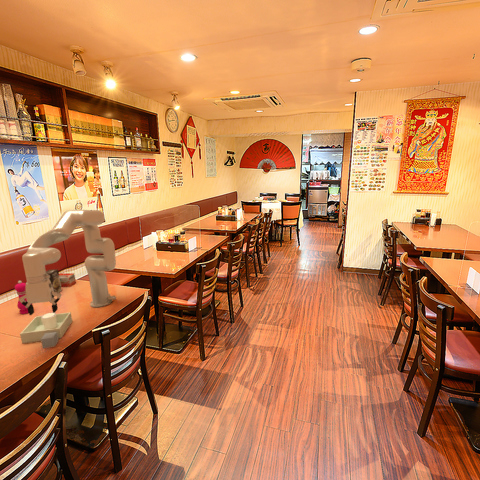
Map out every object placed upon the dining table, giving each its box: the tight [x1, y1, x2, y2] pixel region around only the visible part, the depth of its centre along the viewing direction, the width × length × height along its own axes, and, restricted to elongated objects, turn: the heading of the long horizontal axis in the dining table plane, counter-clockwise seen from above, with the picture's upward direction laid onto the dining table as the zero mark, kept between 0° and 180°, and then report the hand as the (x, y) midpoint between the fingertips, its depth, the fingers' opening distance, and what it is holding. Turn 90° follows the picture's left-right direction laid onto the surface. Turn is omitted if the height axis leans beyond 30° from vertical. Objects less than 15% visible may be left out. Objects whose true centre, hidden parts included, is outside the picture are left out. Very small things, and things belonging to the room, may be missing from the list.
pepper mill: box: [14, 280, 29, 315], centre depth 168 cm, size 7×7×20 cm
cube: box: [40, 332, 59, 349], centre depth 137 cm, size 5×5×5 cm
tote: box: [19, 311, 73, 344], centre depth 148 cm, size 17×17×6 cm
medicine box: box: [59, 272, 77, 288], centre depth 209 cm, size 15×8×8 cm, turn 89°
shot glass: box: [40, 311, 57, 330], centre depth 151 cm, size 7×7×7 cm
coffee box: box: [46, 268, 63, 293], centre depth 194 cm, size 9×6×16 cm
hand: (43, 312), depth 133 cm, fingers open, 9 cm apart
